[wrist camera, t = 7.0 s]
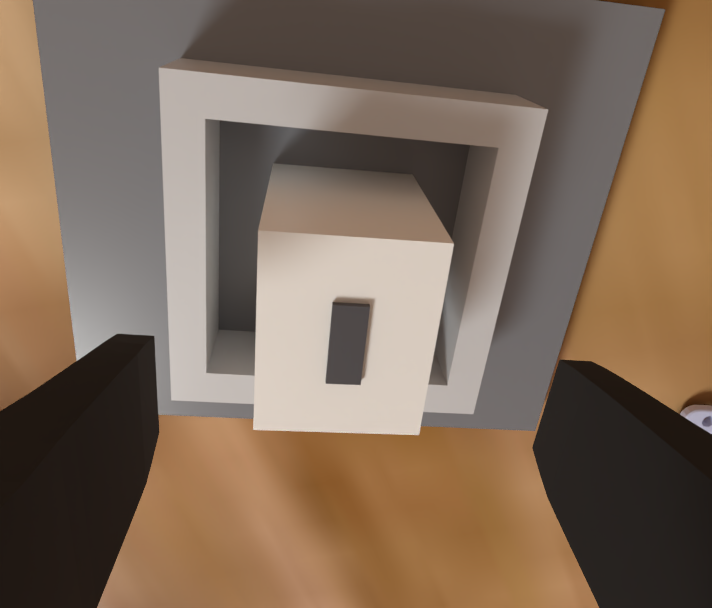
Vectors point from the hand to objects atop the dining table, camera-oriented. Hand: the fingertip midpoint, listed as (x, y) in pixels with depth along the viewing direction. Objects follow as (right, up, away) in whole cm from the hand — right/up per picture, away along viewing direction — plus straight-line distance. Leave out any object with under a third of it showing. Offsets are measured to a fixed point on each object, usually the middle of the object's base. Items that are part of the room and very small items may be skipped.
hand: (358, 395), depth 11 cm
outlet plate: (-1, +4, +8) cm, 9 cm away
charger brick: (-1, +3, +7) cm, 8 cm away
